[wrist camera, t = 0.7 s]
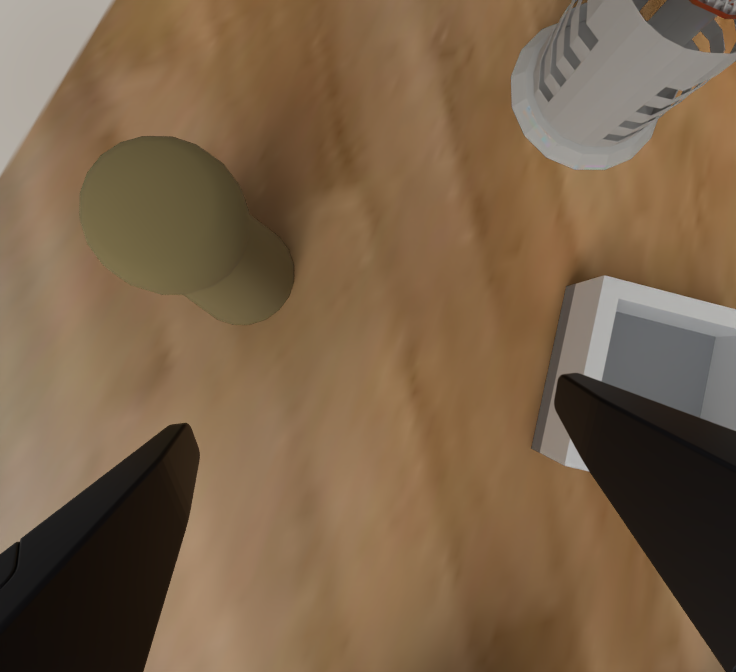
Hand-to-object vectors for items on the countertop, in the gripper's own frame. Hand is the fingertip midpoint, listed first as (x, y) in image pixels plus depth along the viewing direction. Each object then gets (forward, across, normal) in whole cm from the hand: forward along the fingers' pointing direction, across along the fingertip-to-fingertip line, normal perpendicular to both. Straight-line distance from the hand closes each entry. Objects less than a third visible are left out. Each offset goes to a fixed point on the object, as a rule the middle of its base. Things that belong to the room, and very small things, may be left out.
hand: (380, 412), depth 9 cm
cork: (+15, +6, +1) cm, 16 cm away
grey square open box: (+10, -16, +9) cm, 21 cm away
